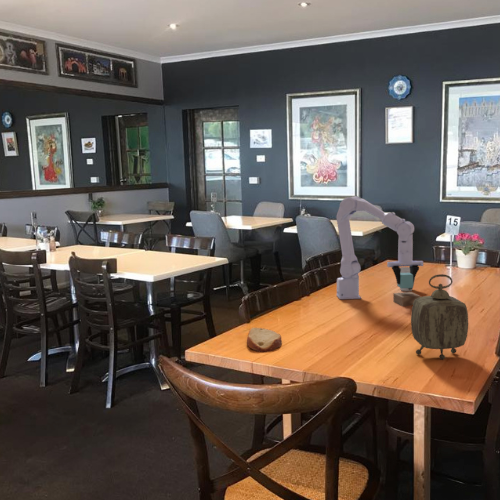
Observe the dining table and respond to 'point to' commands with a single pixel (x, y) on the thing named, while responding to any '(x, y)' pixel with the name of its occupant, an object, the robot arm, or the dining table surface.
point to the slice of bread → (263, 340)
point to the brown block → (405, 298)
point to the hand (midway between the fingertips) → (405, 283)
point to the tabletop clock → (439, 320)
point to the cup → (406, 270)
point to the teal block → (406, 280)
